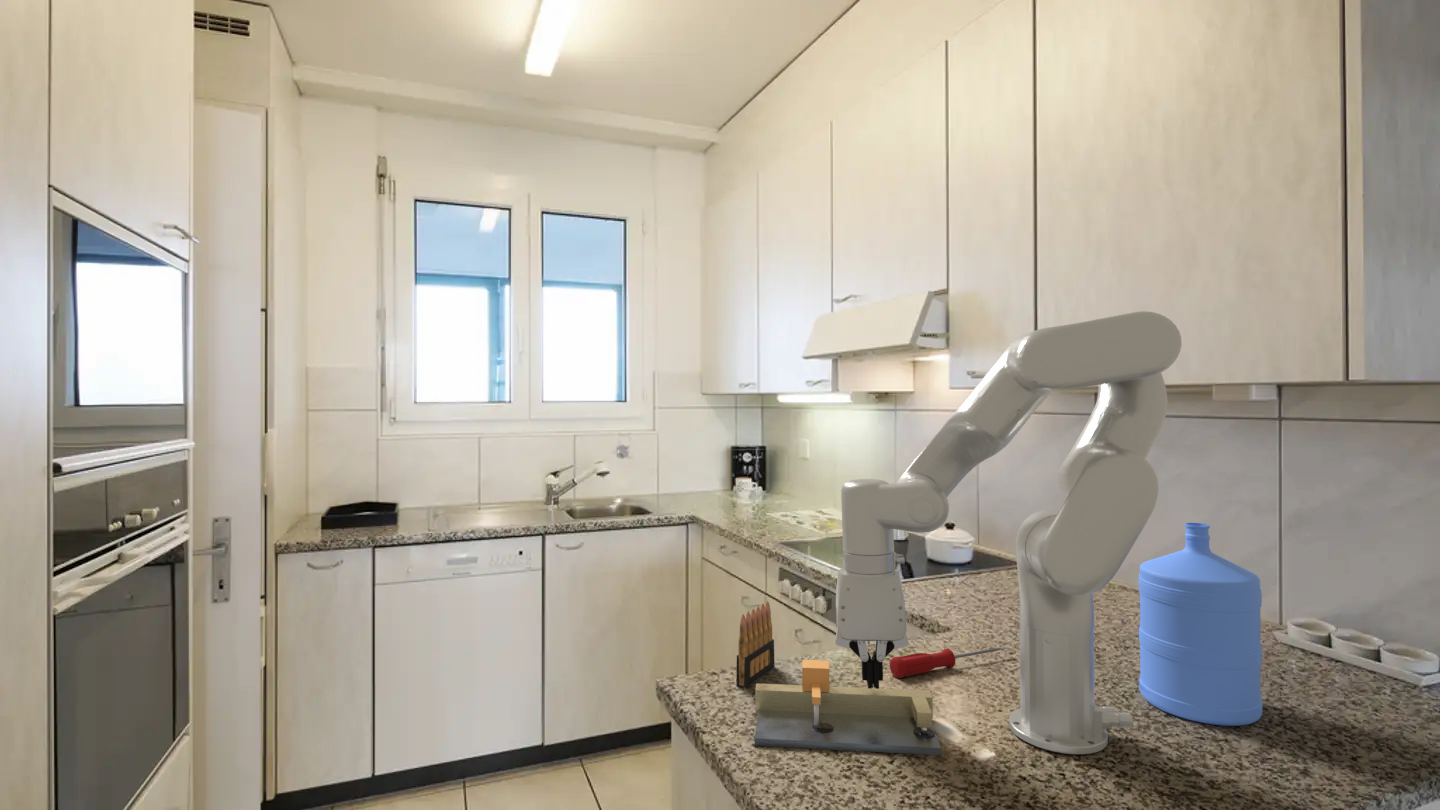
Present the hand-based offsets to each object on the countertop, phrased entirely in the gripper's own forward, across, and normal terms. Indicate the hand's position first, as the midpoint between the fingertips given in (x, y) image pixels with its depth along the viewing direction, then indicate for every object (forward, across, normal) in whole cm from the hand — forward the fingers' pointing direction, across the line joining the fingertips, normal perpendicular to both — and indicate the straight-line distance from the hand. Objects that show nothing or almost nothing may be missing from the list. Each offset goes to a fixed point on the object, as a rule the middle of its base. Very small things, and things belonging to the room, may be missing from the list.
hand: (872, 684), depth 102 cm
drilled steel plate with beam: (+5, +5, +3) cm, 7 cm away
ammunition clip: (+5, +19, -14) cm, 24 cm away
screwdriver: (+6, -16, -22) cm, 28 cm away
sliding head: (+3, +9, +2) cm, 10 cm away
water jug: (+6, -50, -10) cm, 52 cm away
